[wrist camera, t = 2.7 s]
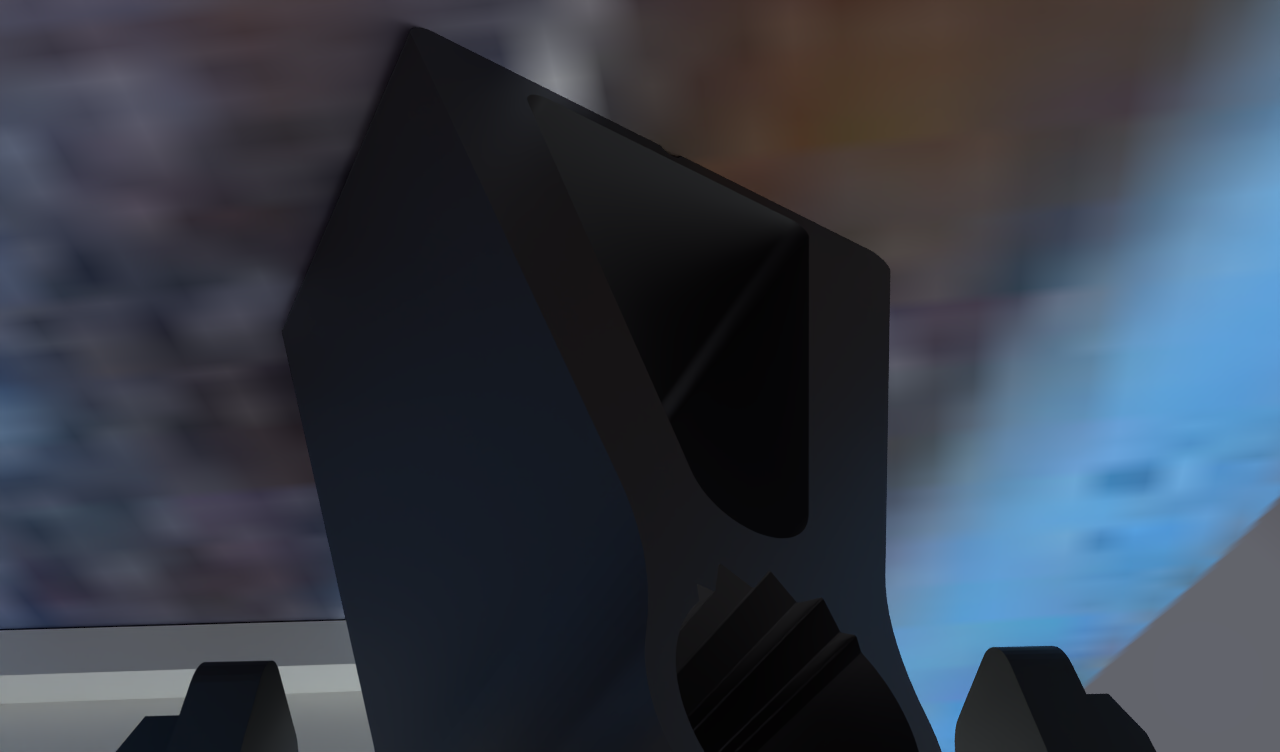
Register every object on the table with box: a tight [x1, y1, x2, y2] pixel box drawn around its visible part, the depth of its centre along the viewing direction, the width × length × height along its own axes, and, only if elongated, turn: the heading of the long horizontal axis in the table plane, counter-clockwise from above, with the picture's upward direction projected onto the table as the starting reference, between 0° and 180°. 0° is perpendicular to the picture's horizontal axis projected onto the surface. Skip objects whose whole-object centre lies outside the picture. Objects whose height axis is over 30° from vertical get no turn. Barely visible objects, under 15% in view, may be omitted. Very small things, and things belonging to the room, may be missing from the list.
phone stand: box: [282, 28, 941, 752], centre depth 13 cm, size 9×6×12 cm, turn 60°
